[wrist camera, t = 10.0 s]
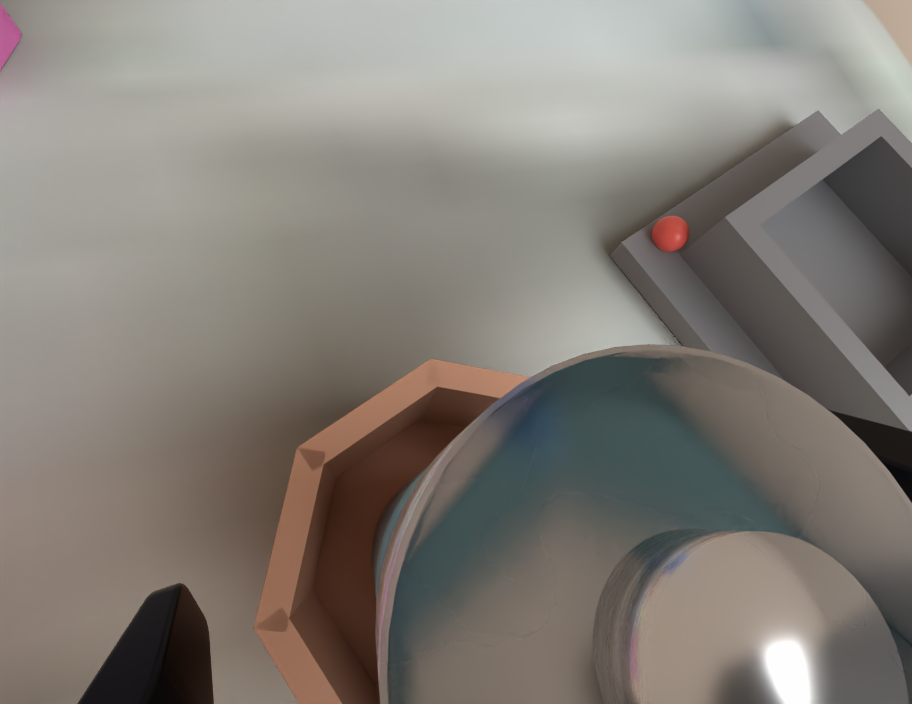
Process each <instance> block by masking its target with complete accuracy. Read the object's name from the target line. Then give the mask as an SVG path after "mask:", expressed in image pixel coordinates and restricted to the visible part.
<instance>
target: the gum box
mask: <svg viewBox="0 0 912 704" xmlns="http://www.w3.org/2000/svg"><path fill="white" fill-rule="evenodd" d="M21 36H22V34H21V32H20V30H19V29H18V28H17V26H16V25H15V23H14V22H13V20H12V19H11V17H10V16H9V15H8V14H7V12H6V11H5V9H4V8H3V6H2V5H1V4H0V70H1V69H2V67H3V66H4V64H5V62H6V61H7V59H8V58H9V56H10V55H11V53H12V52H13V50H14V48H15V47H16V45H17V44H18V42H19V41H20V39H21Z"/></svg>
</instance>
